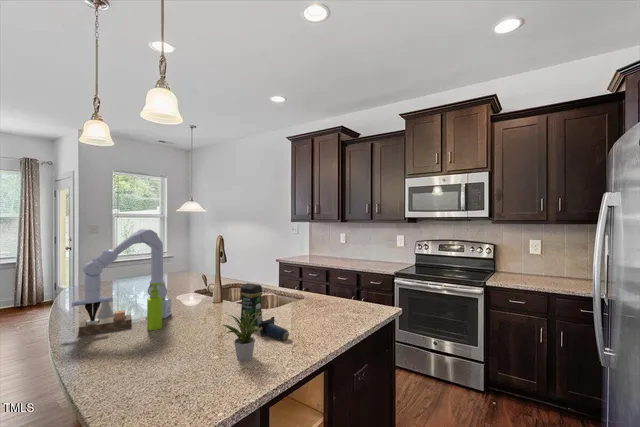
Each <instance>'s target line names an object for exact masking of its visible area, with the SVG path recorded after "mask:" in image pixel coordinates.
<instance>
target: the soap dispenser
mask: <svg viewBox="0 0 640 427" xmlns="http://www.w3.org/2000/svg"><path fill="white" fill-rule="evenodd" d="M151 285H153V290H152V291H151V298H150V297H148V298H147V299H146V303H147V306H146V308H147V310H146V311H147V314H146V317H147V319H146V320H147V322H146V324H147V326H146V327H147V328H146V330H148V331H157V330H160V329H162V328H163V318H162V297H159V290H157V285H159V286H161V285H164V284H162V283H152V284H151Z"/></svg>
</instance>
